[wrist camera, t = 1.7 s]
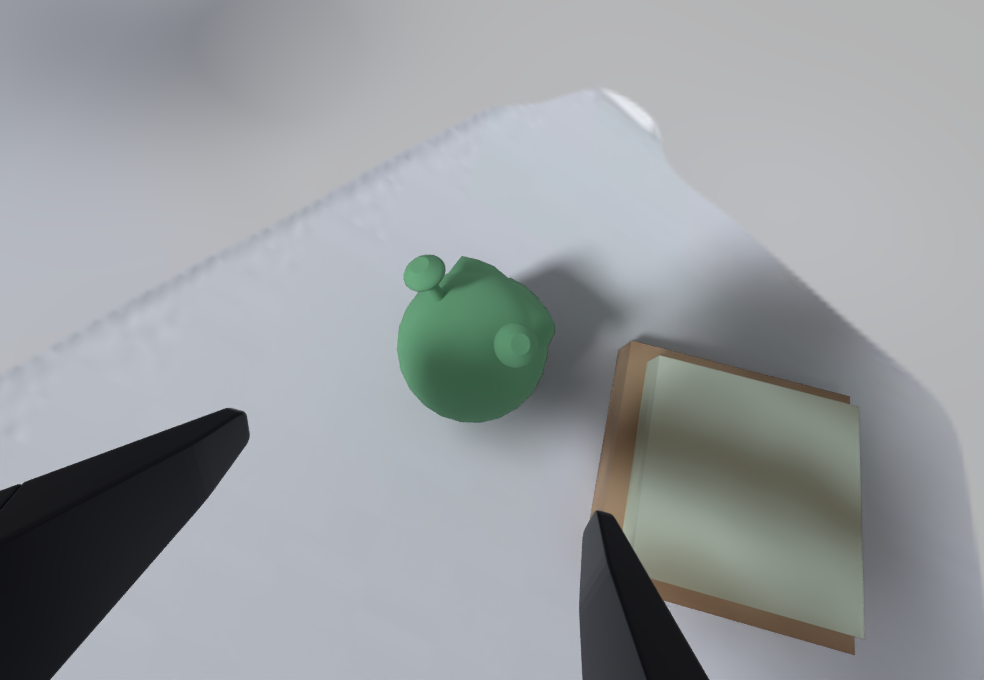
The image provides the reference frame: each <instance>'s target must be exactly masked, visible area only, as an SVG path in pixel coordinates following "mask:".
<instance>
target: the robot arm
mask: <svg viewBox="0 0 984 680" xmlns="http://www.w3.org/2000/svg"><path fill="white" fill-rule="evenodd" d="M249 437H250V433H249V426H248V420H247V415H246V413H245V412H244V411H241V410H237V409H233V408H225V409H222V410H220V411H217V412H214V413H211V414H209V415H206V416H203V417H201V418H198V419H195V420H192V421H190V422H187V423H184V424H181V425H179V426H176V427H173V428H171V429H168V430H165V431H162V432H160V433H157V434H154V435H151V436H149V437H146V438H143V439H141V440H138V441H135V442H132V443H130V444H127V445H124V446H121V447H119V448H116V449H113V450H111V451H108V452H105V453H102V454H100V455H97V456H94V457H91V458H89V459H86V460H83V461H81V462H78V463H75V464H72V465H70V466H67V467H64V468H61V469H59V470H56V471H53V472H50V473H48V474H45V475H42V476H40V477H37V478H34V479H31V480H29V481H26V482H24V483H23V484H22V485H21V484H18V485H15V486H12V487H9V488H7V489H4V490H1V491H0V680H50V679H51V678H52V677H53V676H54V675H55V674H56V672H57V671H58V670H59V669H60V668H61V667H62V666H63V664H64V663H65V662H66V661H67V660H68V659H69V657H70V656H71V655H72V654H73V653H74V652H75V651H76V649H77V648H78V647H79V646H80V645H81V644H82V643H83V641H84V640H85V639H86V638H87V637H88V636H89V634H90V633H91V632H92V631H93V630H94V629H95V628H96V626H97V625H98V624H99V623H100V622H101V621H102V620H103V618H104V617H105V616H106V615H107V614H108V613H109V611H110V610H111V609H112V608H113V607H114V606H115V605H116V603H117V602H118V601H119V600H120V599H121V598H122V597H123V595H124V594H125V593H126V592H127V591H128V590H129V588H130V587H131V586H132V585H133V584H134V583H135V582H136V580H137V579H138V578H139V577H140V576H141V575H142V574H143V572H144V571H145V570H146V569H147V568H148V567H149V565H150V564H151V563H152V562H153V561H154V560H155V559H156V557H157V556H158V555H159V554H160V553H161V552H162V551H163V549H164V548H165V547H166V546H167V545H168V544H169V542H170V541H171V540H172V539H173V538H174V537H175V536H176V534H177V533H178V532H179V531H180V530H181V529H182V528H183V526H184V525H185V524H186V523H187V522H188V521H189V519H190V518H191V517H192V516H193V515H194V514H195V513H196V511H197V510H198V509H199V508H200V507H201V506H202V504H203V503H204V502H205V501H206V500H207V498H208V497H209V496H210V494H211V493H212V492H213V491H214V489H215V488H216V486H217V485H218V484H219V482H220V481H221V479H222V478H223V477H224V475H225V474H226V472H227V471H228V470H229V468H230V467H231V466H232V464H233V463H234V461H235V460H236V459H237V457H238V456H239V454H240V453H241V452H242V450H243V449H244V447H245V446H246V445H247V443H248V440H249ZM579 618H580V638H581V658H582V678H583V680H709V678H708V677H707V675H706V673H705V671H704V670H703V668H702V666H701V665H700V663H699V661H698V659H697V658H696V656H695V654H694V652H693V651H692V649H691V647H690V646H689V644H688V642H687V640H686V639H685V637H684V635H683V634H682V632H681V630H680V628H679V627H678V625H677V623H676V622H675V620H674V618H673V616H672V615H671V613H670V611H669V609H668V608H667V606H666V604H665V603H664V601H663V599H662V597H661V596H660V594H659V592H658V591H657V589H656V587H655V585H654V584H653V582H652V580H651V579H650V577H649V575H648V573H647V572H646V570H645V568H644V567H643V565H642V563H641V561H640V560H639V558H638V556H637V554H636V553H635V551H634V549H633V548H632V546H631V544H630V542H629V541H628V539H627V537H626V536H625V534H624V532H623V530H622V529H621V527H620V525H619V524H618V522H617V520H616V518H615V517H614V516H613V515H612V514H610V513H607V512H604V511H600V510H596V511H595V512H594V513H593V515H592V517H591V519H590V520H589V522H588V524H587V526H586V528H585V530H584V533H583V540H582V559H581V578H580V598H579Z"/></svg>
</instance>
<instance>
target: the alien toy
mask: <svg viewBox="0 0 984 680" xmlns="http://www.w3.org/2000/svg"><path fill="white" fill-rule="evenodd" d="M444 274H445V265H444V262H443V261H442V260H441V259H440V258H439V257H437V256H434V255H423V256H419V257H417V258H415V259H414V260H413V261H411V262H410V263H409V264H408V266H407V267H406V269H405V272H404V282H405V284H406V286H407V287H408V288H409V289H411V290H413V291H417V292H418V293H417V295H416V296H415V297H414V299H413V300H412V302H411V303H410V304H409V306H408V307H407V309H406V311H405V313H404V316H403V318H402V321H401V324H400V326H399V333H398V343H397V352H398V358H399V363H400V369H401V372H402V374H403V376H404V378H405V380H406V382H407V384H408V386H409V388H410V390H411V391H412V392H413V393H414V394H415V396H416V397H417V398H418V399H419V400H420V401H421V402H422V403H423V404H424V405H425V406H426V407H428V408H429V409H431V410H432V411H434V412H436V413H437V414H439V415H440V416H443V417H446V418H449V419H453V420H456V421H459V422H479V423H481V422H485V421H489V420H493V419H497V418H500V417H502V416H504V415H505V414H507V413H509V412H511V411H513V410H514V409H516V408H518V407H519V406H520V405H521V404H522V403H523V402H524V401H525V400H526V399H527V398H528V397H529V396H530V395H531V394H532V392H533V390H534V389H535V387H536V385H537V383H538V382H539V380H540V378H541V376H542V374H543V370H544V366H545V362H546V358H547V348H548V346H549V344H550V341H551V339H552V337H553V335H554V333H555V325H554V323H553V321H552V319H551V316H550V314H549V312H548V311H547V309H546V308H545V307H544V305H543V304H542V303H541V302H540V300H539V298H537V297H536V296H535V295H534V294H533V293H532V292H531V291H530V290H529V289H528V288H527V287H526V286H524V285H522V284H520V283H519V282H517V281H515V280H513V279H512V278H508V277H506V276H505V275H504V274H503V273H502V272H500V271H499V270H498V269H497V268H495V267H494V266H492V265H490V264H487V263H485V262H482V261H480V260H477V259H472V258H468V257H463V256H461V258H460V259H459V260H458V262H457V263H456V264H455V265H454V267H453V268H452V269H451V271H450V272H449V273H448V274H446V275H444Z"/></svg>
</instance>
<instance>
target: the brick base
mask: <svg viewBox="0 0 984 680" xmlns="http://www.w3.org/2000/svg"><path fill="white" fill-rule="evenodd" d="M596 510H600V511H604V512H607V513H610V514H612V515H613V516H614V517H615V518H616V520H617V522H618V524H619V525H620V527H621V529H622V530H623V532H624V534H625V536H626V537H627V539H628V541H629V542H630V544H631V546H632V548H633V549H634V551H635V553H636V554H637V556H638V558H639V560H640V561H641V563H642V565H643V567H644V568H645V570H646V572H647V573H648V575H649V577H650V579H651V580H652V582H653V584H654V585H655V587H656V589H657V591H658V592H659V594H660V596H661V597H662V599H663V600H664V601H667V602H671V603H674V604H678V605H681V606H685V607H688V608H692V609H695V610H699V611H702V612H706V613H709V614H713V615H716V616H720V617H723V618H727V619H730V620H734V621H737V622H741V623H744V624H748V625H751V626H755V627H758V628H762V629H765V630H769V631H772V632H776V633H779V634H783V635H786V636H790V637H793V638H797V639H800V640H804V641H807V642H811V643H814V644H817V645H821V646H824V647H828V648H831V649H835V650H838V651H842V652H845V653H849V654H852V655H855V645H854V636H855V637H858V638H862V639H865V635H864V596H863V557H862V518H861V479H860V441H859V407H858V406H854V405H850V397H849V396H846V395H842V394H838V393H834V392H830V391H826V390H822V389H818V388H814V387H811V386H807V385H803V384H799V383H795V382H791V381H787V380H783V379H779V378H776V377H772V376H768V375H764V374H760V373H756V372H752V371H748V370H744V369H741V368H737V367H733V366H729V365H725V364H721V363H717V362H713V361H709V360H706V359H702V358H698V357H694V356H690V355H686V354H682V353H678V352H674V351H671V350H667V349H663V348H659V347H655V346H651V345H647V344H643V343H639V342H636V341H630V342H629V343H627V344H626V345H625V346H623V347H622V348H621V349H619V351H618V357H617V363H616V369H615V375H614V381H613V387H612V393H611V398H610V404H609V410H608V416H607V422H606V428H605V434H604V440H603V446H602V452H601V458H600V463H599V469H598V475H597V481H596V487H595V493H594V499H593V505H592V511H591V517H592V515H593V513H594V512H595V511H596ZM591 517H590V519H591Z"/></svg>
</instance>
